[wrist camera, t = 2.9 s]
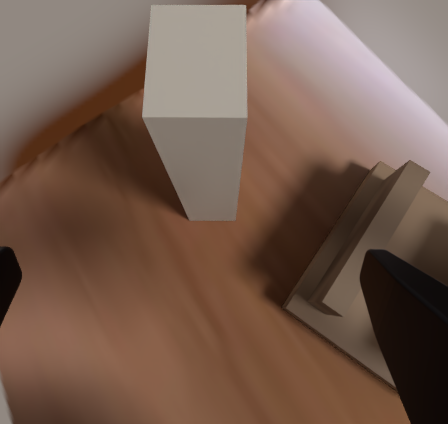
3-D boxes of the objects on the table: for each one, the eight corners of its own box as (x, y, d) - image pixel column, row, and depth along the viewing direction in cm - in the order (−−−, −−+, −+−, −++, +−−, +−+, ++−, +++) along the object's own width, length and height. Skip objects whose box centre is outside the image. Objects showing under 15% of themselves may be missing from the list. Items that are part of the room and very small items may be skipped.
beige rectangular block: (235, 220, 21) (247, 117, 9) (189, 220, 21) (142, 117, 9) (235, 163, 22) (246, 5, 10) (191, 163, 22) (151, 4, 10)
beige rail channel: (415, 404, 19) (473, 436, 14) (281, 307, 20) (296, 309, 16) (495, 246, 21) (566, 232, 16) (370, 170, 22) (405, 138, 18)
